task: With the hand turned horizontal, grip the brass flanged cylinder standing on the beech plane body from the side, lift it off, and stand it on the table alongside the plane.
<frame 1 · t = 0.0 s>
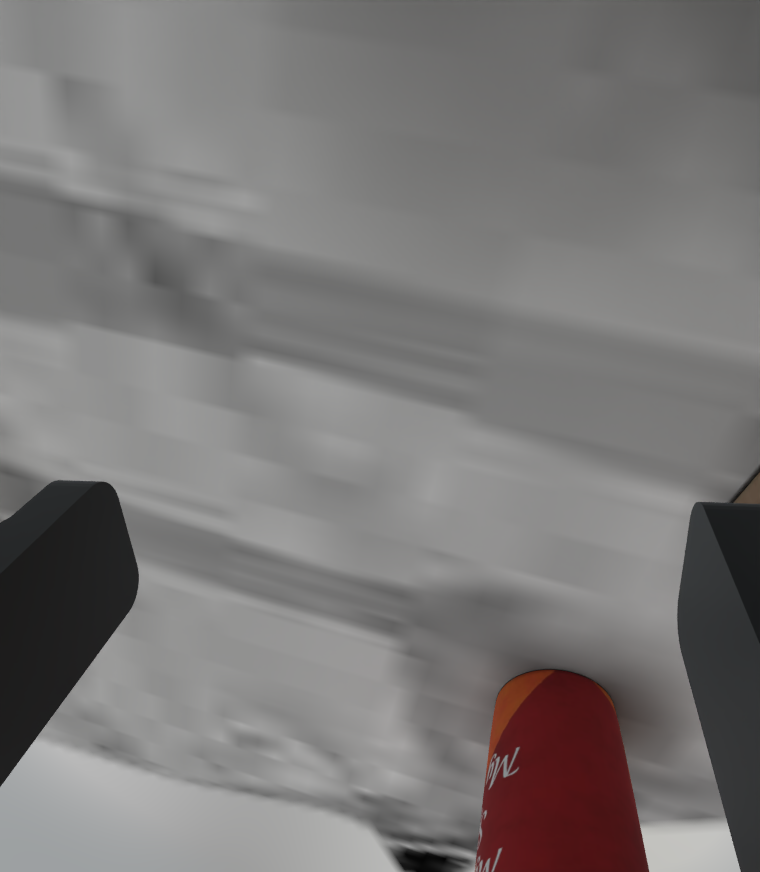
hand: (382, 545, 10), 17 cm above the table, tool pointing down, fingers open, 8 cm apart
coffee cup: (554, 707, 36), on the table
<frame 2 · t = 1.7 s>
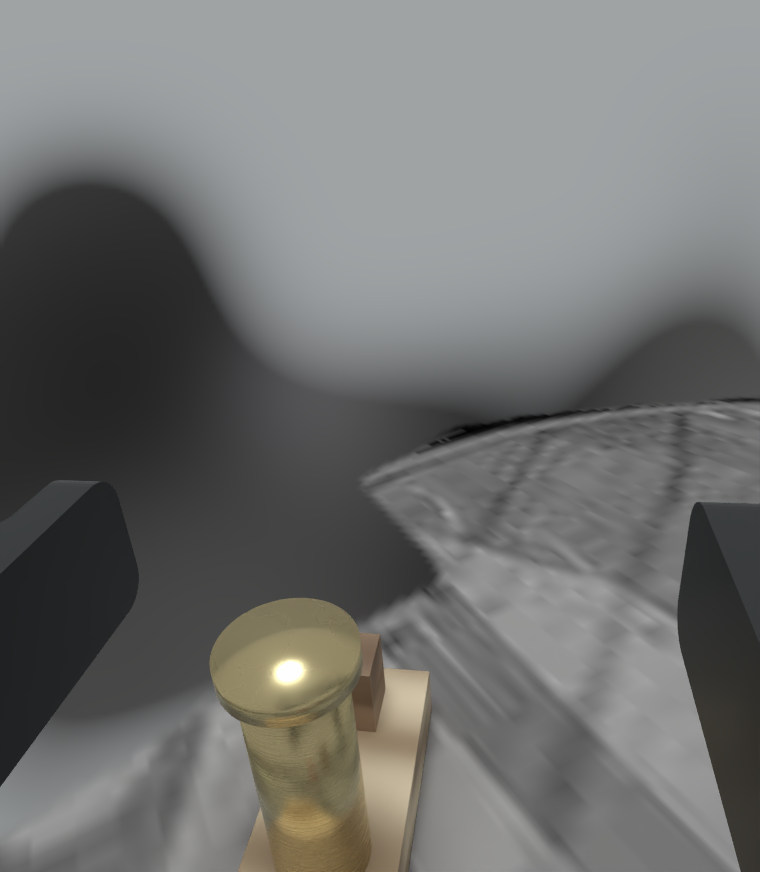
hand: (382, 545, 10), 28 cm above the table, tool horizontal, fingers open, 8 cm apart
brass flanged cylinder: (322, 849, 32), point 3 cm above the table, touching plane body
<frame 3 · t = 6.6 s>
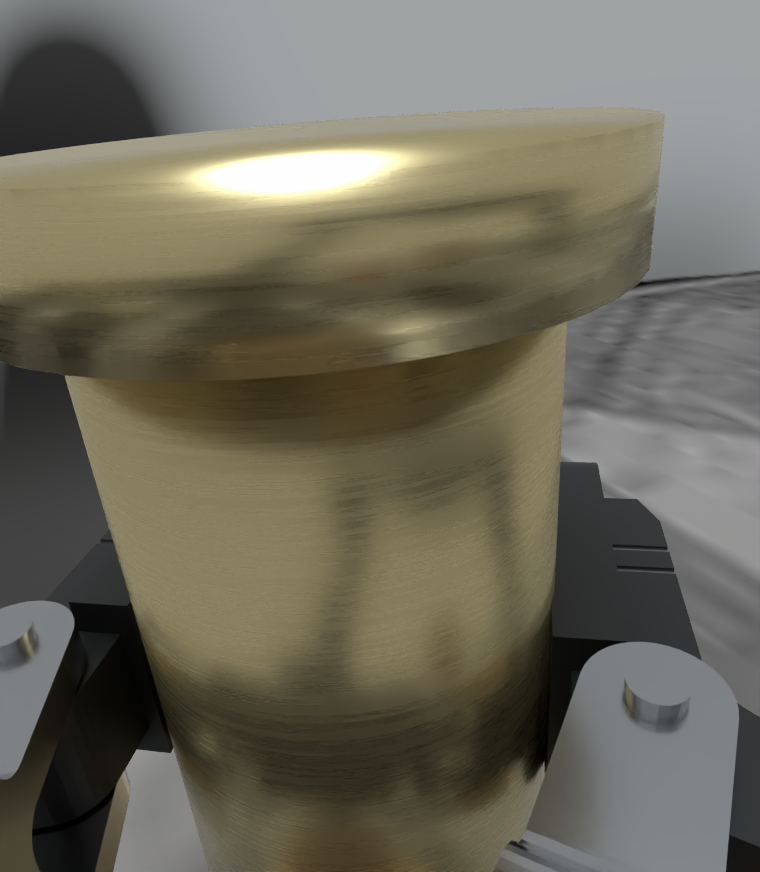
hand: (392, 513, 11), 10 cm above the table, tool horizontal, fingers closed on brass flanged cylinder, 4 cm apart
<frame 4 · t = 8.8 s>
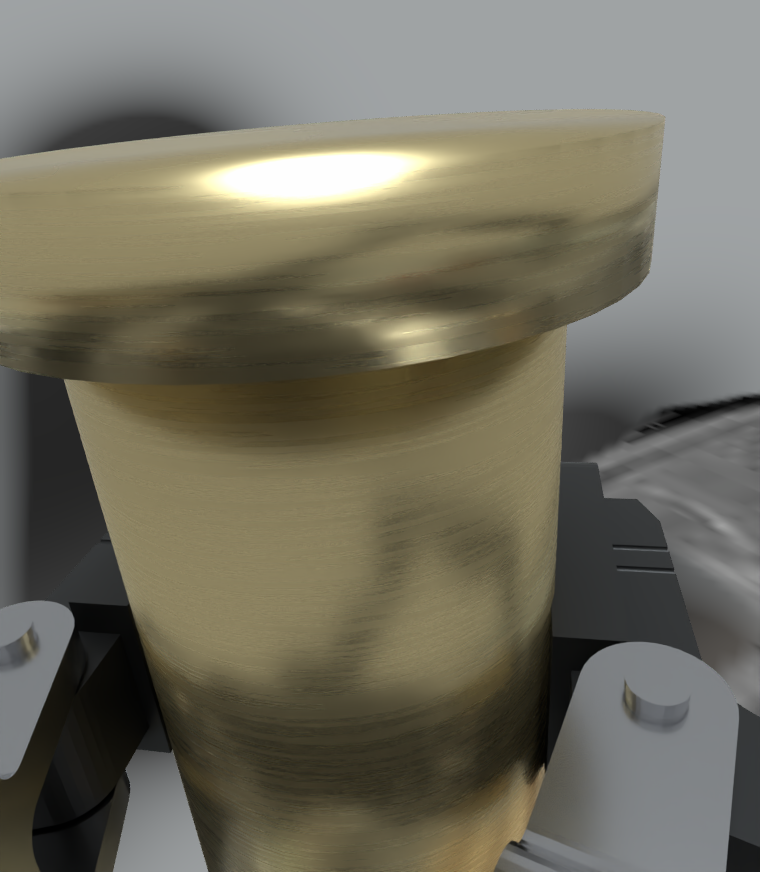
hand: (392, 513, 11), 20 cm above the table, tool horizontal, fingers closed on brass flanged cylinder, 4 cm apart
when the fingers open (8 cm above the table, at t = 11.2 s): brass flanged cylinder drops 1 cm, on the table.
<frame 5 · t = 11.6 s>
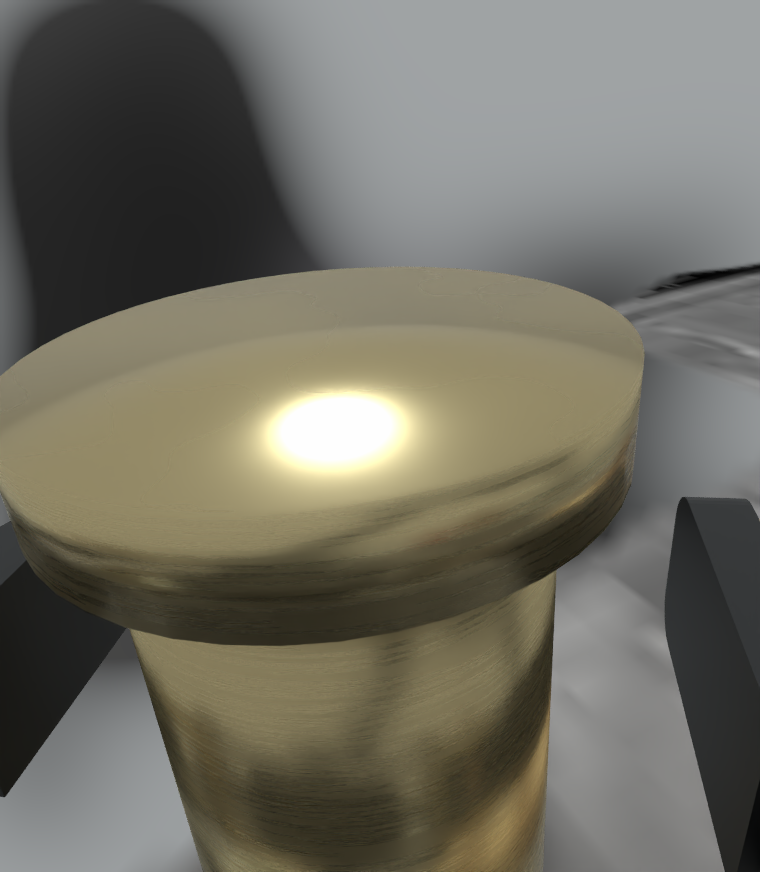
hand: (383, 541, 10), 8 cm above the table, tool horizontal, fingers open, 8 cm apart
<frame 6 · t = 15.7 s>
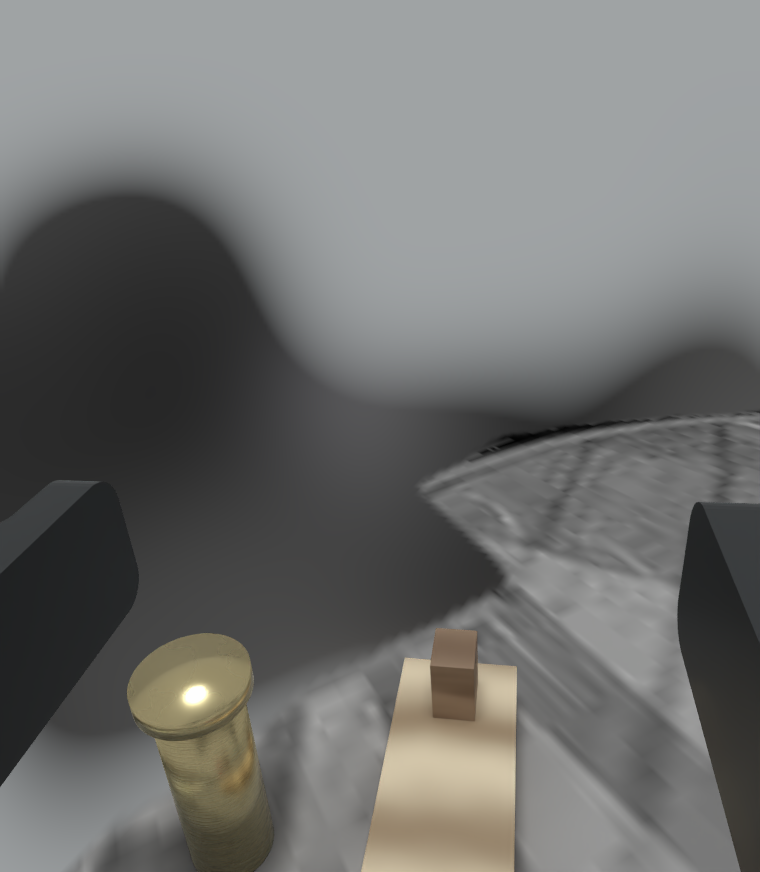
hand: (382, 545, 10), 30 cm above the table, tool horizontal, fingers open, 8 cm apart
plane body: (444, 863, 36), on the table
brass flanged cylinder: (232, 840, 38), on the table
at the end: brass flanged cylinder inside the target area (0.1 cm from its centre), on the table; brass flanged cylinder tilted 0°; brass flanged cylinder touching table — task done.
